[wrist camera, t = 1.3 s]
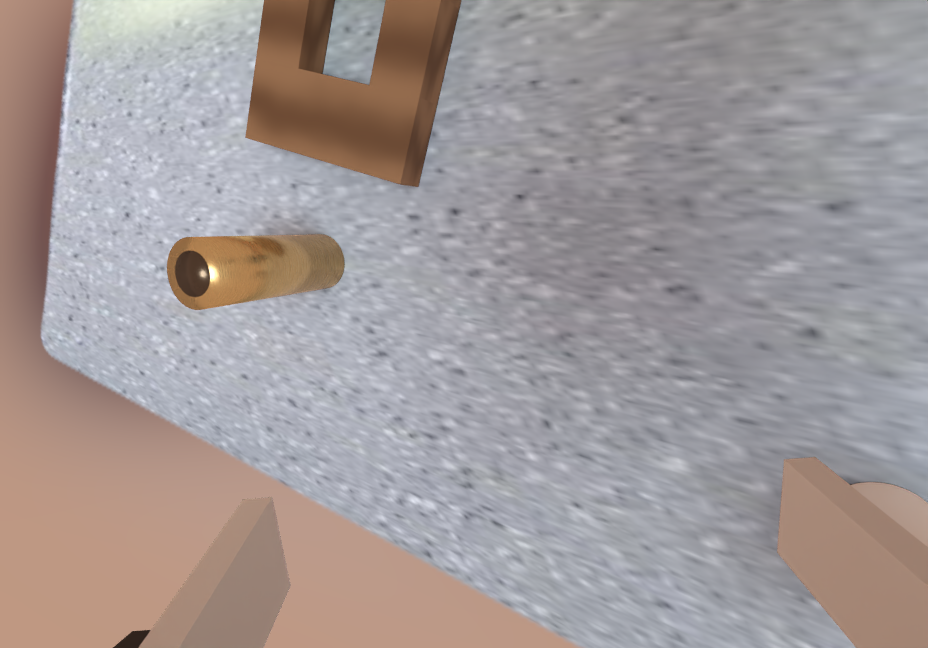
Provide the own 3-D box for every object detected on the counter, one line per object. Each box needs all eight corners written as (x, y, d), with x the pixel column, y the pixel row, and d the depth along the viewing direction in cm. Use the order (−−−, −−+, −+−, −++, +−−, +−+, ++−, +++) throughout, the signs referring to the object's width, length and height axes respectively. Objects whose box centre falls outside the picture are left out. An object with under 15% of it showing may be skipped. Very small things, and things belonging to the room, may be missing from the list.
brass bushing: (305, 227, 49) (169, 228, 37) (349, 243, 48) (223, 249, 35) (296, 278, 51) (162, 296, 38) (338, 295, 49) (213, 320, 36)
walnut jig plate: (307, -107, 44) (281, -129, 41) (481, -89, 39) (465, -113, 36) (270, 142, 49) (245, 137, 47) (418, 186, 44) (400, 184, 41)
